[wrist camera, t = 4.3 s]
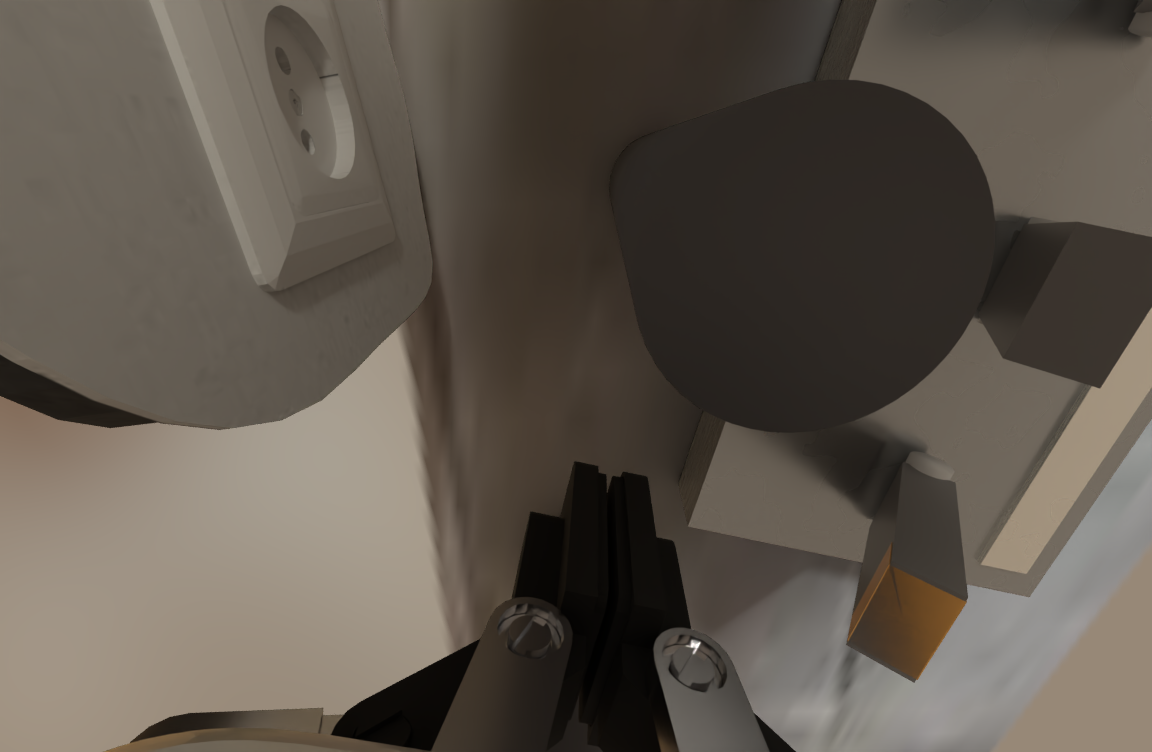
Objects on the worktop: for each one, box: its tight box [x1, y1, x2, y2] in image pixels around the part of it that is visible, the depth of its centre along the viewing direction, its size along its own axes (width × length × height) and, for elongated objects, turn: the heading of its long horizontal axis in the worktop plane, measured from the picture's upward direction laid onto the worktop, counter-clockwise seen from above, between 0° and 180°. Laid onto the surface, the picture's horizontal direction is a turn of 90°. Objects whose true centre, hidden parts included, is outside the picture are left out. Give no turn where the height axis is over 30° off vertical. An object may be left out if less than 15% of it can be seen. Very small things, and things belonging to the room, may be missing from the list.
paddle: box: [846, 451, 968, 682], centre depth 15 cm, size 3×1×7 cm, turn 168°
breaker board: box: [678, 0, 1152, 597], centre depth 16 cm, size 20×12×3 cm, turn 168°
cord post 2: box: [609, 80, 995, 433], centre depth 11 cm, size 3×3×13 cm
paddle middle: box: [978, 217, 1152, 388], centre depth 12 cm, size 3×1×7 cm, turn 168°
